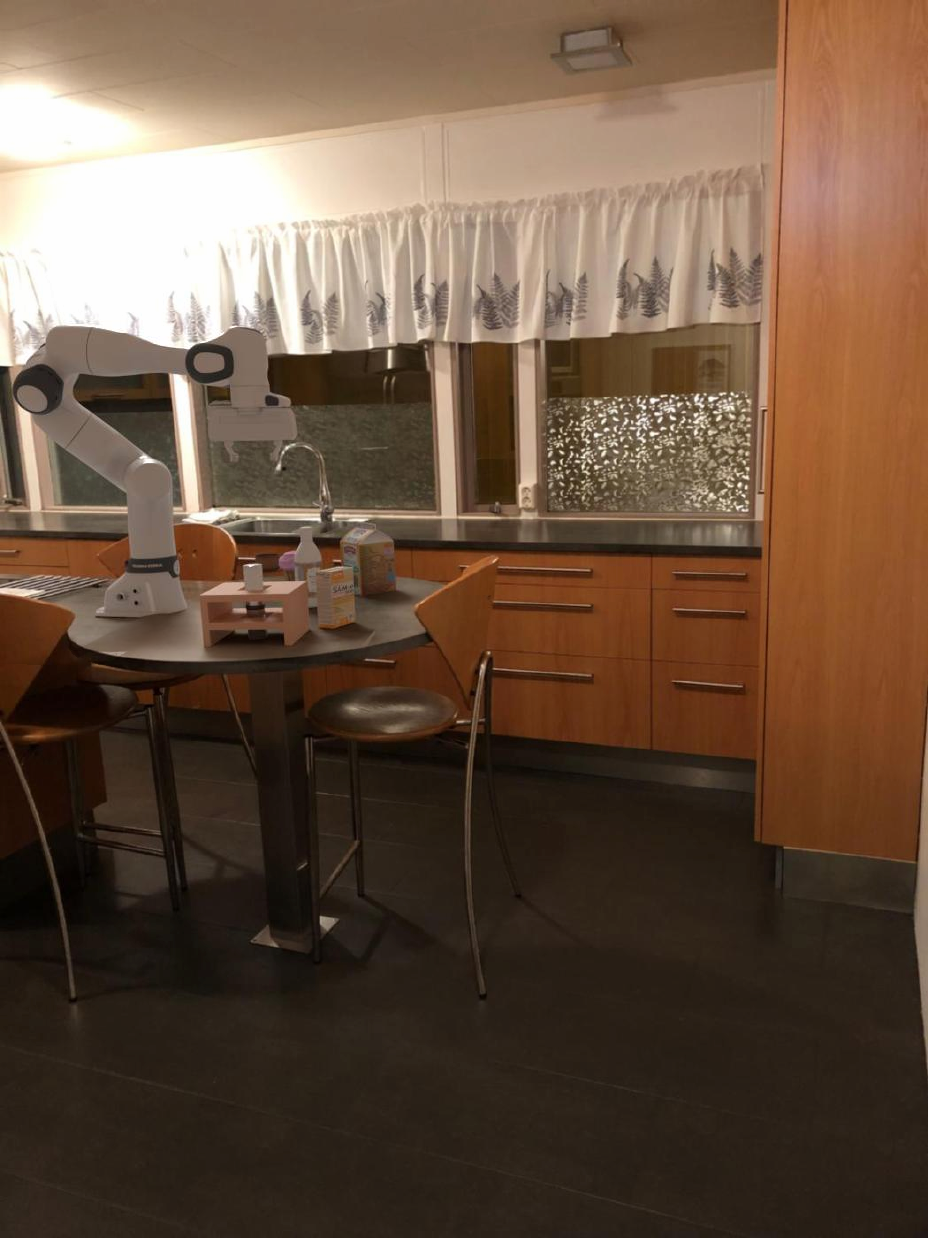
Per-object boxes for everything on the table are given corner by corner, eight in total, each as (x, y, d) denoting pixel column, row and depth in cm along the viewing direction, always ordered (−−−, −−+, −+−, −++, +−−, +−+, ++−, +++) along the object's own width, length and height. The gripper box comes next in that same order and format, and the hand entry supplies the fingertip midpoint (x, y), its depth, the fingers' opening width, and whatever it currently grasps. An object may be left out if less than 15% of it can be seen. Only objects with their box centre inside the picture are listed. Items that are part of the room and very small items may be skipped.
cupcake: (276, 587, 279) (273, 552, 277) (286, 582, 287) (284, 548, 285) (306, 587, 277) (304, 552, 275) (315, 582, 286) (313, 548, 284)
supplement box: (334, 629, 221) (330, 571, 218) (317, 627, 223) (314, 570, 221) (357, 622, 228) (353, 566, 225) (340, 620, 230) (337, 565, 228)
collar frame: (203, 646, 208) (199, 595, 206) (228, 630, 224) (224, 582, 222) (291, 645, 207) (288, 593, 204) (309, 628, 222) (306, 580, 220)
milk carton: (396, 593, 264) (392, 522, 260) (361, 598, 258) (357, 525, 255) (376, 588, 273) (373, 519, 269) (342, 592, 267) (338, 523, 263)
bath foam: (304, 609, 245) (298, 529, 241) (292, 605, 251) (287, 527, 247) (329, 605, 249) (324, 527, 245) (317, 602, 255) (312, 524, 251)
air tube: (245, 639, 213) (239, 566, 210) (251, 635, 217) (245, 563, 214) (264, 639, 213) (259, 566, 210) (269, 635, 217) (264, 563, 214)
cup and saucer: (272, 570, 312) (270, 551, 310) (296, 573, 304) (294, 554, 302) (240, 576, 303) (239, 556, 302) (264, 579, 295) (262, 559, 294)
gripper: (201, 400, 222) (205, 462, 225) (290, 398, 221) (293, 460, 223) (211, 400, 229) (215, 460, 231) (297, 398, 227) (300, 459, 230)
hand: (254, 460), depth 227 cm, fingers open, 8 cm apart
